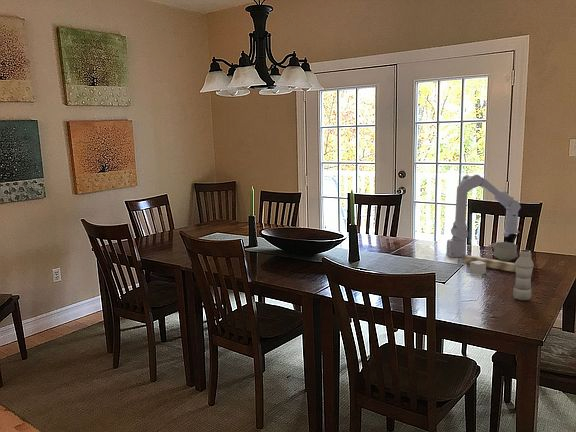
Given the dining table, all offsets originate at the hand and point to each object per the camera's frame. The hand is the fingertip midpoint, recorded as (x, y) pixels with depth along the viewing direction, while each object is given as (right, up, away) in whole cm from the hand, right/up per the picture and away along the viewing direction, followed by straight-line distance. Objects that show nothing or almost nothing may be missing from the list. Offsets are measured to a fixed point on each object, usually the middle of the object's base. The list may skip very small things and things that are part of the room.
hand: (509, 247), depth 253 cm
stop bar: (-19, -8, -19) cm, 28 cm away
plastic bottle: (-25, -17, -63) cm, 70 cm away
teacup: (-8, -6, -7) cm, 12 cm away
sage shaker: (-2, -8, -22) cm, 23 cm away
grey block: (-28, -10, -28) cm, 41 cm away
